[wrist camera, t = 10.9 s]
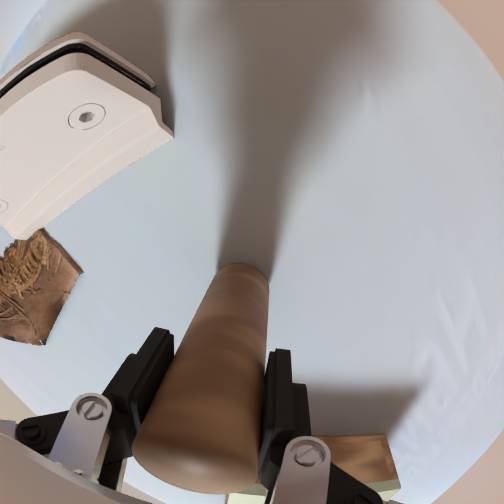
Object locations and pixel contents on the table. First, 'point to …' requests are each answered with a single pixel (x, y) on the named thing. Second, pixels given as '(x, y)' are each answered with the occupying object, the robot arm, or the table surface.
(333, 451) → the box with square hole
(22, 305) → the wooden fragment
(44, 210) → the white curved device casing
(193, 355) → the pin
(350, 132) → the table surface
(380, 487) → the lid
